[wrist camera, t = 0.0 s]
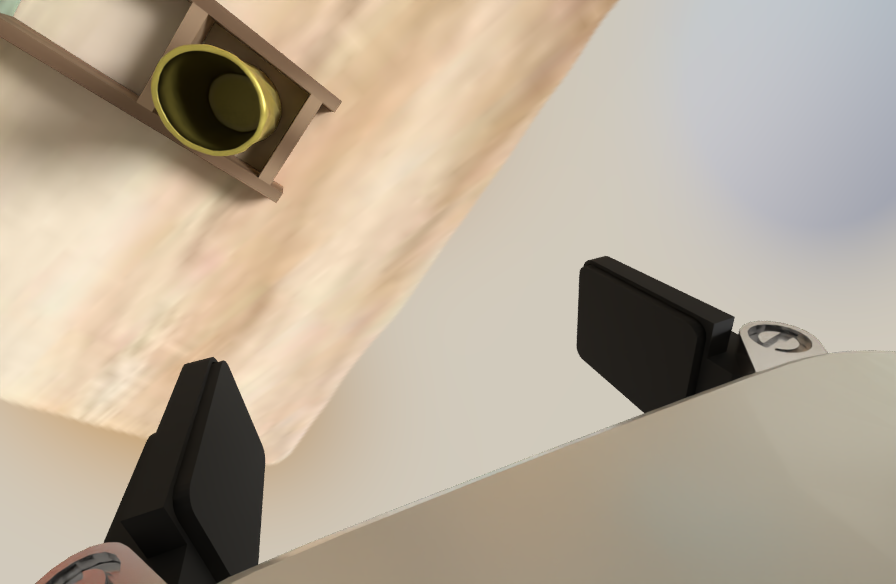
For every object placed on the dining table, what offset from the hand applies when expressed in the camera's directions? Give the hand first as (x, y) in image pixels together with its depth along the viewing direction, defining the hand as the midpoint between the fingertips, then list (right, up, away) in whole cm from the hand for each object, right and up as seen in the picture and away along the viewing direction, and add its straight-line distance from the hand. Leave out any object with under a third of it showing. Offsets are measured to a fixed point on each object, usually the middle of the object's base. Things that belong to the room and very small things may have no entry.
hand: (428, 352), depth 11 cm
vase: (-16, +17, +23) cm, 33 cm away
